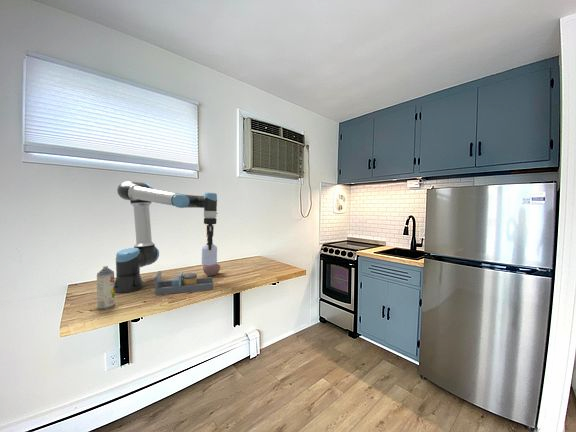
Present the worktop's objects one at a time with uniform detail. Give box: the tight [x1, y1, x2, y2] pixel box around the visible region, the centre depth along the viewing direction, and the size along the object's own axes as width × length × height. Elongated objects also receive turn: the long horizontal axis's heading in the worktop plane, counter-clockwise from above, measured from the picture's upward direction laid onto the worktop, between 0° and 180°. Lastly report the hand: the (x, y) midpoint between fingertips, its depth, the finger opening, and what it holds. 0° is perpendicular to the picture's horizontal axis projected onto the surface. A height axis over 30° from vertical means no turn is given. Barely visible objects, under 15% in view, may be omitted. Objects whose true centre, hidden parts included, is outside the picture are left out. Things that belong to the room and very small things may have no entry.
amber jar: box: [182, 272, 198, 286], centre depth 142 cm, size 8×8×8 cm
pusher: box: [171, 270, 183, 287], centre depth 140 cm, size 5×10×9 cm, turn 20°
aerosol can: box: [96, 265, 116, 310], centre depth 115 cm, size 7×7×20 cm
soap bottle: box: [201, 224, 218, 266], centre depth 146 cm, size 9×9×25 cm
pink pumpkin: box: [202, 263, 221, 277], centre depth 168 cm, size 12×12×11 cm
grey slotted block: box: [154, 270, 214, 296], centre depth 142 cm, size 31×13×10 cm, turn 110°
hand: (209, 253), depth 146 cm, fingers closed on soap bottle, 9 cm apart
